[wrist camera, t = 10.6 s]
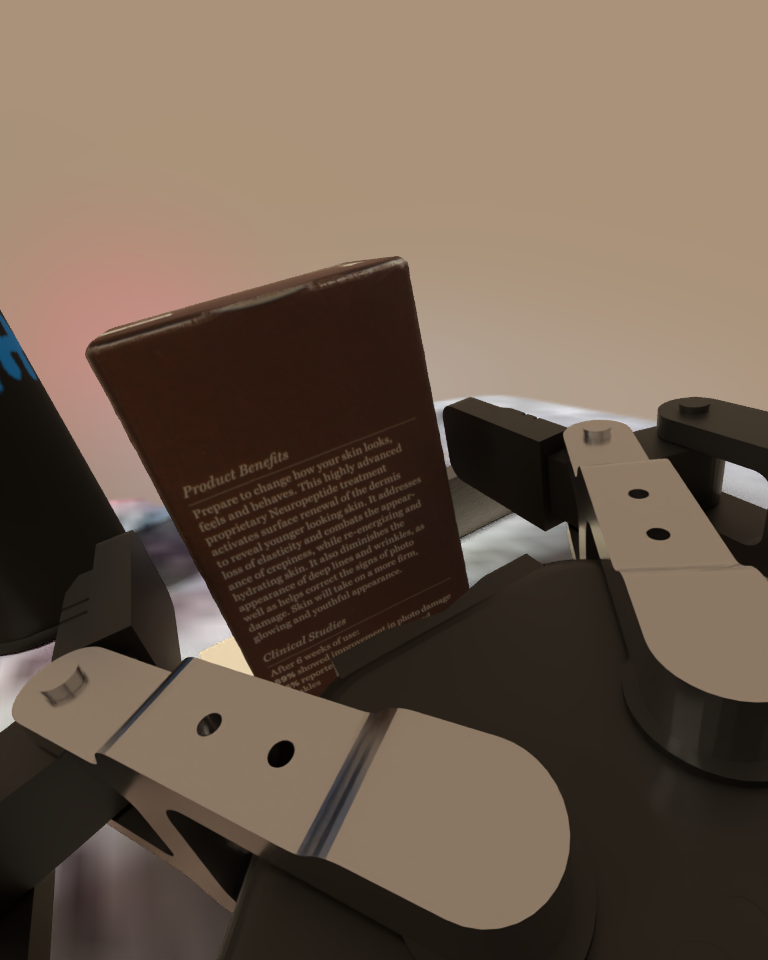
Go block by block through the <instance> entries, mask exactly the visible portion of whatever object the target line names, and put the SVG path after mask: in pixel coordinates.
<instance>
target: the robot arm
mask: <svg viewBox="0 0 768 960" xmlns="http://www.w3.org/2000/svg"><path fill="white" fill-rule="evenodd" d="M443 422H444V428H445V434H446V440H447V446H448V452H449V458H450V463H451V466H452V468H453V470H454V472H455V474H456V475H457V477H458V478H459V479H460V480H462V481H463V482H465V483H466V484H468V485H470V486H471V487H473V488H475V489H476V490H478V491H480V492H481V493H483V494H484V495H486V496H488V497H489V498H491V499H493V500H494V501H496V502H498V503H499V504H501V505H502V506H504V507H506V508H507V509H509V510H511V511H512V512H514V513H516V514H517V515H519V516H521V517H522V518H524V519H525V520H527V521H529V522H530V523H532V524H534V525H535V526H537V527H539V528H540V529H542V530H544V531H547V530H549V529H551V528H553V527H555V526H557V525H559V524H561V523H563V522H564V521H565V522H567V537H568V541H569V546H570V550H571V554H572V560H564V561H557V562H552V563H547V564H543V565H542V564H541V563H539V562H538V561H536V560H535V559H534V558H532V557H531V556H529V555H528V554H525V555H523V556H521V557H519V558H518V559H516V560H514V561H512V562H510V563H508V564H506V565H505V566H503V567H501V568H499V569H497V570H495V571H493V572H491V573H490V574H488V575H486V576H484V577H483V578H482V579H480V580H479V581H478V582H477V583H476V584H475V585H474V586H472V587H471V588H470V589H469V590H468V591H467V592H466V593H465V594H463V595H462V596H461V597H460V598H459V599H458V600H457V601H455V602H454V603H453V604H452V605H451V606H450V607H449V608H447V609H446V610H444V611H443V612H440V613H438V614H434V615H431V616H428V617H425V618H422V619H418V620H415V621H412V622H409V623H406V624H402V625H399V626H396V627H393V628H389V629H386V630H384V631H382V632H380V633H378V634H376V635H374V636H372V637H370V638H369V639H367V640H365V641H363V642H361V643H359V644H357V645H356V646H354V647H352V648H350V649H348V650H346V651H344V652H343V653H341V654H339V655H337V656H335V657H333V658H331V661H332V664H333V667H334V669H335V672H336V674H337V678H336V679H335V680H334V681H332V682H331V683H330V684H329V685H328V686H327V687H326V688H325V689H324V690H323V691H322V692H321V694H320V695H319V696H318V697H317V696H314V695H311V694H307V693H304V692H301V691H298V690H295V689H292V688H289V687H286V686H282V685H279V684H276V683H273V682H270V681H267V680H264V679H261V678H258V677H254V676H251V675H248V674H245V673H242V672H239V671H236V670H233V669H230V668H226V667H223V666H220V665H217V664H214V663H211V662H208V661H205V660H201V659H198V658H194V657H188V658H185V659H184V660H183V661H182V662H181V655H180V648H179V640H178V633H177V626H176V618H175V611H174V606H173V603H172V600H171V597H170V595H169V592H168V590H167V588H166V586H165V584H164V582H163V580H162V579H161V577H160V575H159V573H158V571H157V570H156V568H155V566H154V564H153V562H152V560H151V559H150V557H149V555H148V553H147V551H146V550H145V548H144V546H143V544H142V542H141V541H140V539H139V537H138V536H137V534H136V533H135V532H134V531H133V530H131V531H128V532H126V533H123V534H121V535H118V536H116V537H113V538H111V539H108V540H106V541H103V542H101V543H98V544H96V548H95V556H94V564H93V570H90V571H88V572H86V573H83V574H81V575H79V576H78V577H77V578H76V580H75V581H74V582H73V584H72V585H71V586H70V588H69V589H68V590H67V592H66V593H65V597H64V602H63V607H62V610H63V612H61V617H60V622H59V623H60V625H59V626H58V631H57V636H56V641H55V646H54V651H53V656H52V661H51V663H50V664H48V665H47V666H46V667H44V668H43V669H42V670H40V671H39V672H38V673H37V674H36V675H35V676H33V677H32V678H31V679H30V680H29V681H28V682H27V684H26V685H25V686H24V687H23V688H22V690H21V691H20V692H19V694H18V696H17V697H16V699H15V701H14V704H13V708H12V716H13V718H14V720H15V722H13V723H12V724H11V725H10V726H9V727H7V728H6V729H5V730H3V731H2V732H0V960H50V948H51V931H52V915H53V899H54V883H55V868H56V867H57V866H58V865H59V864H61V863H62V862H63V861H64V860H65V859H66V858H67V857H69V856H70V855H71V854H72V853H73V852H74V851H75V850H77V849H78V848H79V847H80V846H81V845H82V844H83V843H85V842H86V841H87V840H88V839H89V838H90V837H91V836H93V835H94V834H95V833H96V832H97V831H98V830H99V829H101V828H102V827H103V826H104V825H105V824H106V823H107V824H108V825H110V826H111V827H113V828H114V829H116V830H117V831H119V832H120V833H122V834H123V835H125V836H127V837H128V838H130V839H131V840H133V841H134V842H136V843H138V844H139V845H141V846H142V847H144V848H145V849H147V850H149V851H150V852H152V853H153V854H155V855H156V856H158V857H160V858H161V859H163V860H164V861H166V862H167V863H169V864H170V865H172V866H174V867H175V868H177V869H178V870H180V871H181V872H183V873H184V874H186V875H187V876H188V877H189V878H191V879H192V880H193V881H194V882H195V883H197V884H198V885H199V886H200V887H201V888H202V889H203V890H204V891H205V892H206V893H207V894H209V895H210V896H211V897H212V898H213V899H215V900H216V901H217V902H218V903H220V904H221V905H222V906H224V907H225V908H226V909H228V910H229V911H231V912H232V913H233V914H232V917H231V920H230V923H229V926H228V929H227V932H226V935H225V938H224V941H223V944H222V947H221V950H220V953H219V956H218V959H217V960H768V581H767V580H766V579H765V577H766V578H768V510H766V509H764V508H761V507H759V506H756V505H754V504H751V503H749V502H746V501H744V500H741V499H739V498H736V497H734V496H731V495H729V494H726V493H724V492H721V490H722V483H723V475H724V468H725V461H728V462H731V463H734V464H737V465H740V466H743V467H746V468H749V469H751V470H754V471H757V472H758V473H760V474H761V475H763V476H764V477H765V478H766V480H767V481H768V412H767V411H763V410H759V409H754V408H750V407H746V406H742V405H737V404H733V403H729V402H725V401H721V400H716V399H711V398H702V397H689V398H680V399H675V400H671V401H668V402H666V403H664V404H662V405H661V406H660V407H659V408H658V415H657V426H655V427H651V428H647V429H643V430H639V431H635V432H632V430H631V429H630V427H628V426H627V425H625V424H623V423H620V422H616V421H610V420H591V421H585V422H580V423H577V424H574V425H572V426H570V427H568V428H567V427H564V426H561V425H558V424H555V423H553V422H550V421H547V420H544V419H541V418H538V419H537V417H535V416H532V415H529V414H527V415H526V414H525V413H523V412H520V411H517V410H514V409H512V408H502V407H498V406H495V405H492V404H489V403H486V402H484V401H481V400H478V399H475V398H472V397H469V398H466V399H464V400H461V401H459V402H456V403H454V404H451V405H449V406H446V407H445V408H444V410H443ZM740 564H741V565H740ZM742 565H743V566H742Z"/></svg>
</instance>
